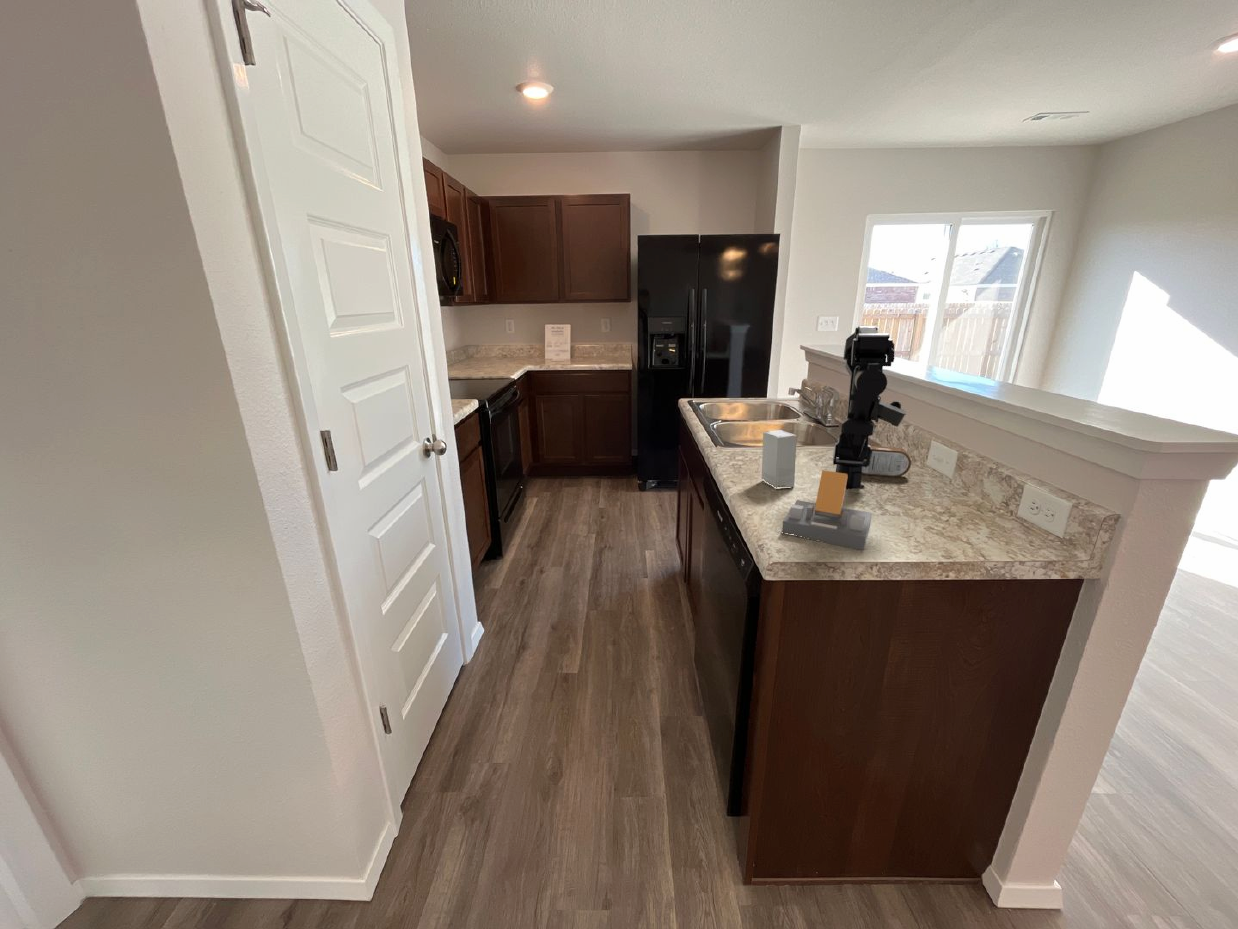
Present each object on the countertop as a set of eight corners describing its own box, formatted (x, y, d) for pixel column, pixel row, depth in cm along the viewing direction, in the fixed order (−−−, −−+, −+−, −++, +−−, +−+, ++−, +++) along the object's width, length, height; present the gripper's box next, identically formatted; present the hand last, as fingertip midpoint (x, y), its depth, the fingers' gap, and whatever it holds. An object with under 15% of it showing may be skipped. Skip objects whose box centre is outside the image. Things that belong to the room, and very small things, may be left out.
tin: (907, 475, 140) (912, 448, 138) (909, 479, 137) (914, 450, 135) (850, 471, 145) (854, 444, 142) (851, 474, 142) (855, 447, 140)
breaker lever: (814, 516, 105) (823, 473, 107) (839, 520, 103) (847, 477, 105) (813, 513, 103) (822, 470, 105) (839, 518, 101) (847, 473, 103)
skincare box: (794, 488, 131) (799, 435, 127) (774, 490, 130) (778, 437, 126) (778, 479, 139) (782, 428, 135) (759, 480, 138) (762, 430, 134)
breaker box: (795, 511, 116) (798, 490, 114) (870, 525, 108) (873, 502, 106) (781, 533, 105) (783, 510, 103) (863, 550, 97) (867, 525, 95)
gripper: (905, 398, 98) (893, 472, 102) (907, 387, 113) (897, 451, 118) (845, 395, 103) (836, 464, 108) (855, 384, 119) (847, 446, 123)
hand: (856, 456), depth 114 cm, fingers open, 3 cm apart
